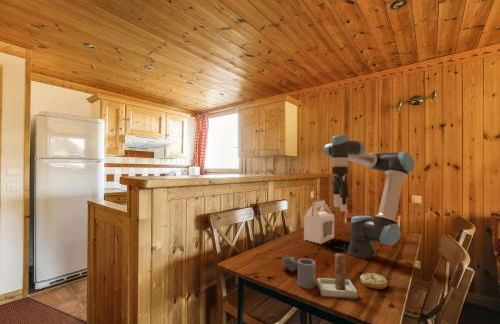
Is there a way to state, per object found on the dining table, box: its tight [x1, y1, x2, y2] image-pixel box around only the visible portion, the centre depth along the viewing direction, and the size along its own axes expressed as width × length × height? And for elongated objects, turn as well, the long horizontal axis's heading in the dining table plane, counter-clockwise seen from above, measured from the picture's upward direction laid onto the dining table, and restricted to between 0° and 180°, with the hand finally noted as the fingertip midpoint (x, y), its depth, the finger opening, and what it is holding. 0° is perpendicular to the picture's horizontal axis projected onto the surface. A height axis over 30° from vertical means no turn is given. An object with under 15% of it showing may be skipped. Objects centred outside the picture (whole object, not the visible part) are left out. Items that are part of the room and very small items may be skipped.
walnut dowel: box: [334, 252, 346, 290], centre depth 103 cm, size 5×4×14 cm
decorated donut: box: [359, 272, 388, 290], centre depth 109 cm, size 10×11×4 cm
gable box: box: [303, 199, 335, 245], centre depth 180 cm, size 22×13×28 cm, turn 137°
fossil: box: [281, 254, 298, 272], centre depth 123 cm, size 11×9×8 cm
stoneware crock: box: [296, 258, 316, 289], centre depth 109 cm, size 8×8×10 cm
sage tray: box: [316, 277, 359, 299], centre depth 103 cm, size 14×11×2 cm
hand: (339, 209), depth 121 cm, fingers open, 13 cm apart
